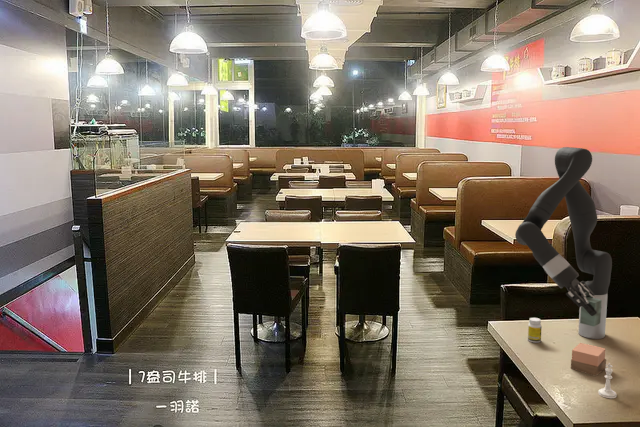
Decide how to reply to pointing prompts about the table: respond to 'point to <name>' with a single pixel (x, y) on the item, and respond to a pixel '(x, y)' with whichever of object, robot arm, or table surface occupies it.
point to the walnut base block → (588, 367)
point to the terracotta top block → (588, 354)
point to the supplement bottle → (534, 330)
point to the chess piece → (607, 385)
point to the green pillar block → (586, 317)
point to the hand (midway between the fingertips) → (596, 311)
